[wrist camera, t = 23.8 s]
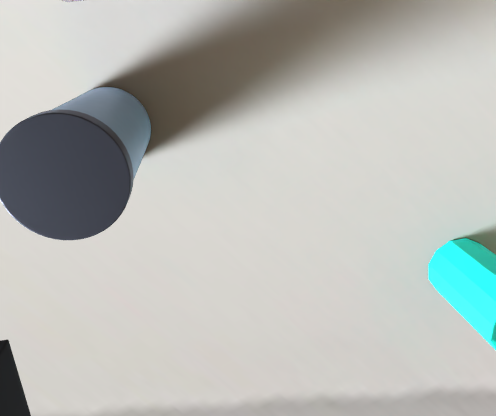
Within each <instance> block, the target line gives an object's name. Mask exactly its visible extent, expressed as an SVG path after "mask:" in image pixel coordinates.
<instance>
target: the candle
mask: <svg viewBox="0 0 496 416" xmlns="http://www.w3.org/2000/svg"><path fill="white" fill-rule="evenodd" d="M429 280H430V281H431V283H432V284H433V285H434V287H435V288H436V290H437V291H438V292H439V293H440V294H441V295H442V296H443V297H444V298H445V299H446V300H447V301H448V302H449V303H450V304H451V305H452V306H453V307H454V308H455V309H456V310H457V311H458V312H459V313H460V314H461V315H462V316H463V317H464V318H465V319H466V320H467V321H468V322H469V323H470V324H471V325H472V326H473V327H474V328H475V329H476V330H477V331H478V332H479V333H480V334H481V335H482V337H483V338H484V339H485V340H486V341H487V342H488V343H489V344H490V345H491V346H492V347H493V348H494V349H495V350H496V255H495V254H494V253H493V252H491V251H490V250H488V249H487V248H485V247H484V246H483V245H481V244H480V243H478V242H475V241H473V240H470V239H467V238H463V239H457V240H451V241H449V242H448V243H446V244H445V245H443V246H442V247H441V248H439V249H438V250H436V252H435V254H434V256H433V258H432V259H431V261H430V263H429Z"/></svg>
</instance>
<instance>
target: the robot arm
mask: <svg viewBox="0 0 496 416" xmlns="http://www.w3.org/2000/svg"><path fill="white" fill-rule="evenodd" d="M0 416H31V415H30V411H29V408H28V405H27V401H26V398H25V395H24V391H23V388H22V384H21V381H20V378H19V374H18V371H17V368H16V364H15V361H14V358H13V354H12V351H11V347H10V344H9V341H8V340H2V341H0Z"/></svg>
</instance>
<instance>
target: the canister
mask: <svg viewBox="0 0 496 416" xmlns="http://www.w3.org/2000/svg"><path fill="white" fill-rule="evenodd" d="M150 136H151V124H150V119H149V116H148V114H147V111H146V110H145V108H144V106H143V105H142V104H141V103H140V102H139V101H138V100H137V99H136V98H135V97H134V96H133V95H131V94H130V93H128V92H126V91H124V90H121V89H118V88H113V87H100V88H95V89H93V90H90V91H88V92H86V93H84V94H82V95H80V96H78V97H76V98H74V99H72V100H70V101H68V102H66V103H64V104H62V105H60V106H58V107H56V108H54V109H52V110H49V111H45V112H41V113H38V114H36V115H33V116H31V117H29V118H27V119H25V120H23V121H21V122H20V123H18V124H17V125H15V126H14V127H13V128H12V129H11V130H10V131H9V132H8V133H7V134H6V135H5V136H4V138H3V139H2V141H1V142H0V200H1V202H2V203H3V205H4V207H5V208H6V209H7V211H8V212H9V213H10V214H11V215H12V216H13V217H14V218H15V219H16V220H17V221H18V222H19V223H20V224H22V225H23V226H24V227H26V228H28V229H29V230H31V231H33V232H35V233H37V234H39V235H42V236H45V237H48V238H53V239H59V240H78V239H84V238H88V237H91V236H94V235H96V234H98V233H100V232H102V231H104V230H105V229H107V228H108V227H110V226H111V225H112V224H113V223H114V222H115V221H116V220H117V219H118V218H119V216H120V215H121V214H122V212H123V210H124V209H125V207H126V204H127V202H128V200H129V197H130V194H131V191H132V187H133V180H134V177H135V175H136V172H137V170H138V168H139V165H140V163H141V160H142V158H143V155H144V153H145V151H146V148H147V146H148V143H149V140H150Z"/></svg>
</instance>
